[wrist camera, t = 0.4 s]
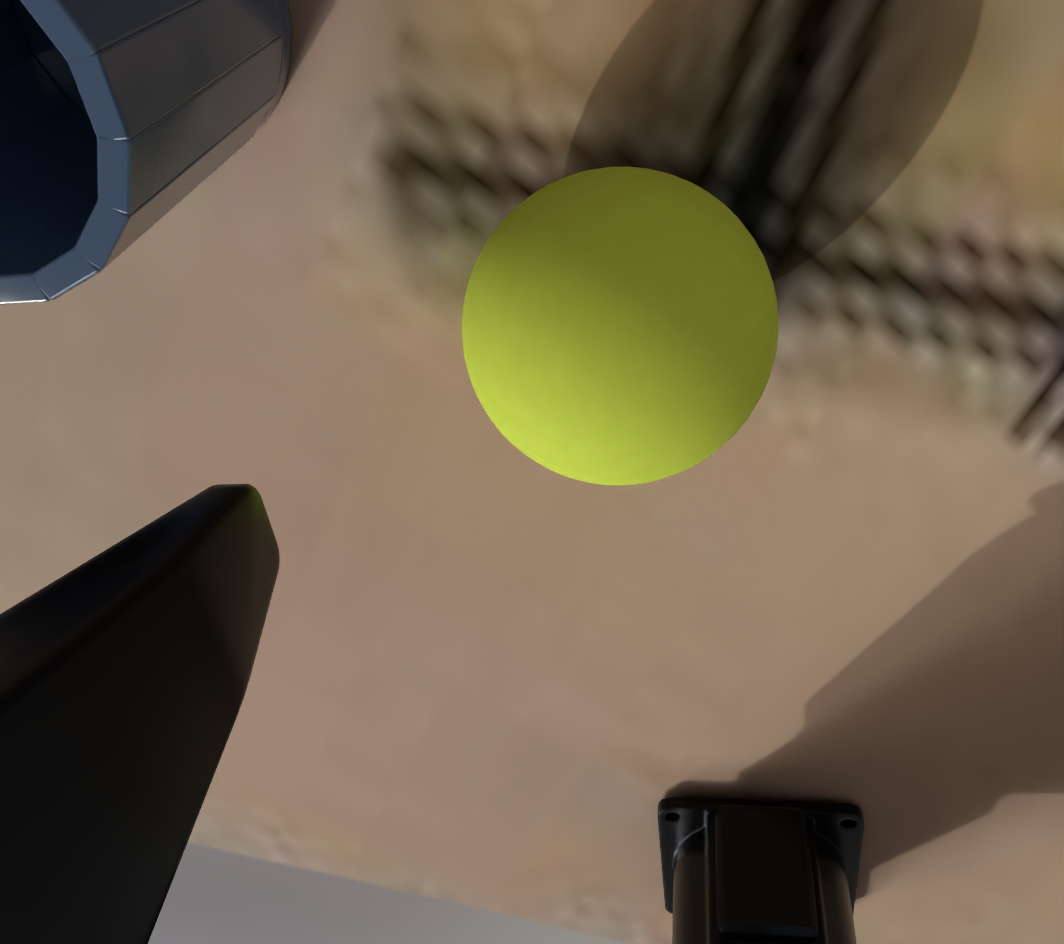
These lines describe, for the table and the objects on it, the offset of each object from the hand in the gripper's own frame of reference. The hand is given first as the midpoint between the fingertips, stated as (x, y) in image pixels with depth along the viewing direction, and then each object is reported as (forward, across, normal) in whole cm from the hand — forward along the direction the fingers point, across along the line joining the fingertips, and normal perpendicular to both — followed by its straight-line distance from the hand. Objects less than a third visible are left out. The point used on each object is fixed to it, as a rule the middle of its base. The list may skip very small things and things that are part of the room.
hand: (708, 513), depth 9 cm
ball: (+9, +2, +3) cm, 10 cm away
